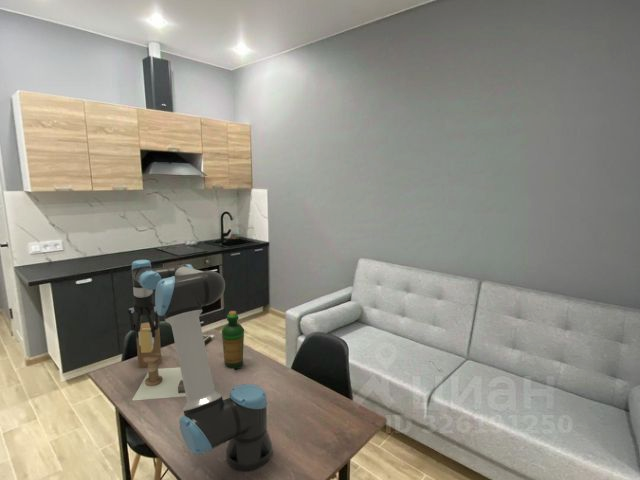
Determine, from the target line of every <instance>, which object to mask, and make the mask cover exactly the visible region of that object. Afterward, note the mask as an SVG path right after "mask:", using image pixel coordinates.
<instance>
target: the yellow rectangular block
mask: <svg viewBox="0 0 640 480" xmlns="http://www.w3.org/2000/svg"><path fill="white" fill-rule="evenodd" d="M150 331H151V328H143V329H142V330H141V331H140V342H141V353H147V352H151V351H152V350H153V345H150Z"/></svg>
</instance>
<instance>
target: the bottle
mask: <svg viewBox="0 0 640 480" xmlns="http://www.w3.org/2000/svg"><path fill="white" fill-rule="evenodd" d="M226 317H227V318H226V321H227V323H228V324H226V325H224V327H223V328H222V329H221V339H222V341H221V342H222V350H223V362H224V365H225V367H226V368H228V369H233V370H237V369H239V368H240V369H241V367H242V366H243V364H244V343H245V342H244V341H245V340H244V339H245V328H244V327H243V326H242V325H241V324H240V323H238V320H239V315H238V313H237V311H236V310H230V311H229V312H228V314H227V316H226Z"/></svg>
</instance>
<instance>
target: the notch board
mask: <svg viewBox="0 0 640 480" xmlns="http://www.w3.org/2000/svg"><path fill="white" fill-rule="evenodd" d="M178 393H185V388H184V384H183V380H180V383H179V385H178Z"/></svg>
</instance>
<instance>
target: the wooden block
mask: <svg viewBox="0 0 640 480" xmlns="http://www.w3.org/2000/svg"><path fill="white" fill-rule="evenodd" d="M154 324H155V321H154ZM143 328H150V324H149V321H147V322H143V323H142V322H141V329H140V330H142V329H143ZM155 331H156V336H155V337H154V343H153V350H152V351H151V352H147V353H141V346H139V338H137V337H136V336H135V341H136V351H137V364H138V365H137V366H138V369H141V368H148V363H146V362H144V357H145V356H146V355H148V354H151V353H160V354H161V355H162V349H161V347H162V346H161V335H160V334H161V332H160V331H161V330H160V327H159V328H158V329H157V330H155ZM161 364H162V358H161V359H160V360H158V366H159V365H161Z"/></svg>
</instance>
